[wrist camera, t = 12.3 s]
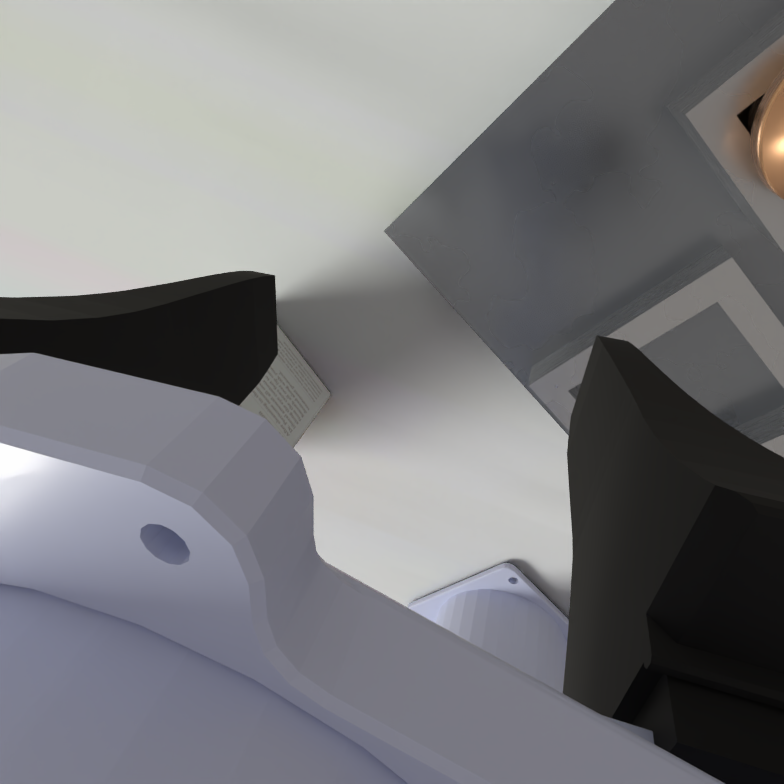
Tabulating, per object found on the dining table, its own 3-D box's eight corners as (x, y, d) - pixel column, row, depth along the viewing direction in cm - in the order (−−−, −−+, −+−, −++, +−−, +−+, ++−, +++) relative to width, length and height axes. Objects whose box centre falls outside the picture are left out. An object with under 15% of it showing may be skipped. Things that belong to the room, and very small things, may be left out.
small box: (233, 449, 30) (97, 603, 22) (165, 371, 29) (-11, 503, 20) (336, 394, 26) (222, 556, 18) (264, 300, 25) (99, 427, 16)
